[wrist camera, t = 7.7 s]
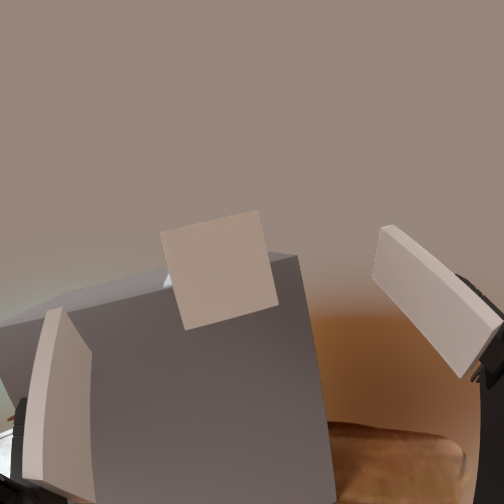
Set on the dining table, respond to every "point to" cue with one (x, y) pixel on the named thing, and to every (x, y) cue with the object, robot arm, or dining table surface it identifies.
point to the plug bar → (219, 269)
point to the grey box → (192, 394)
